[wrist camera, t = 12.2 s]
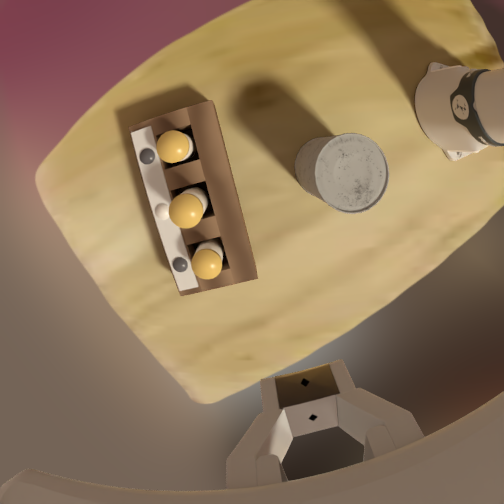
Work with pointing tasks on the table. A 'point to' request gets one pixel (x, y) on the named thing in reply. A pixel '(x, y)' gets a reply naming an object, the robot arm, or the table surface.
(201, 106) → the button board
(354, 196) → the grey concrete cylinder
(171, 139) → the button
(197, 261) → the button
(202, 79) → the table surface
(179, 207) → the middle button
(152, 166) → the strip
